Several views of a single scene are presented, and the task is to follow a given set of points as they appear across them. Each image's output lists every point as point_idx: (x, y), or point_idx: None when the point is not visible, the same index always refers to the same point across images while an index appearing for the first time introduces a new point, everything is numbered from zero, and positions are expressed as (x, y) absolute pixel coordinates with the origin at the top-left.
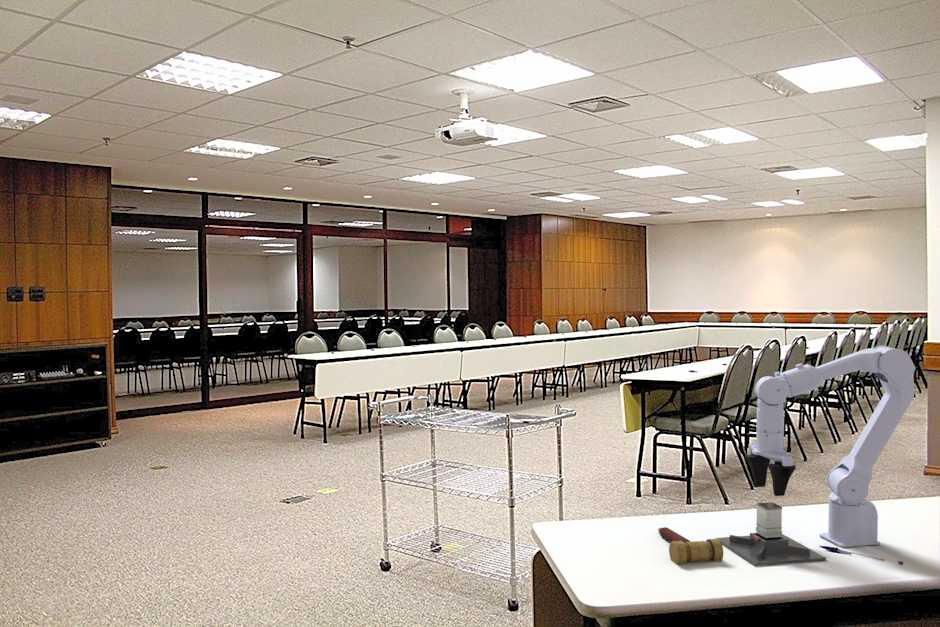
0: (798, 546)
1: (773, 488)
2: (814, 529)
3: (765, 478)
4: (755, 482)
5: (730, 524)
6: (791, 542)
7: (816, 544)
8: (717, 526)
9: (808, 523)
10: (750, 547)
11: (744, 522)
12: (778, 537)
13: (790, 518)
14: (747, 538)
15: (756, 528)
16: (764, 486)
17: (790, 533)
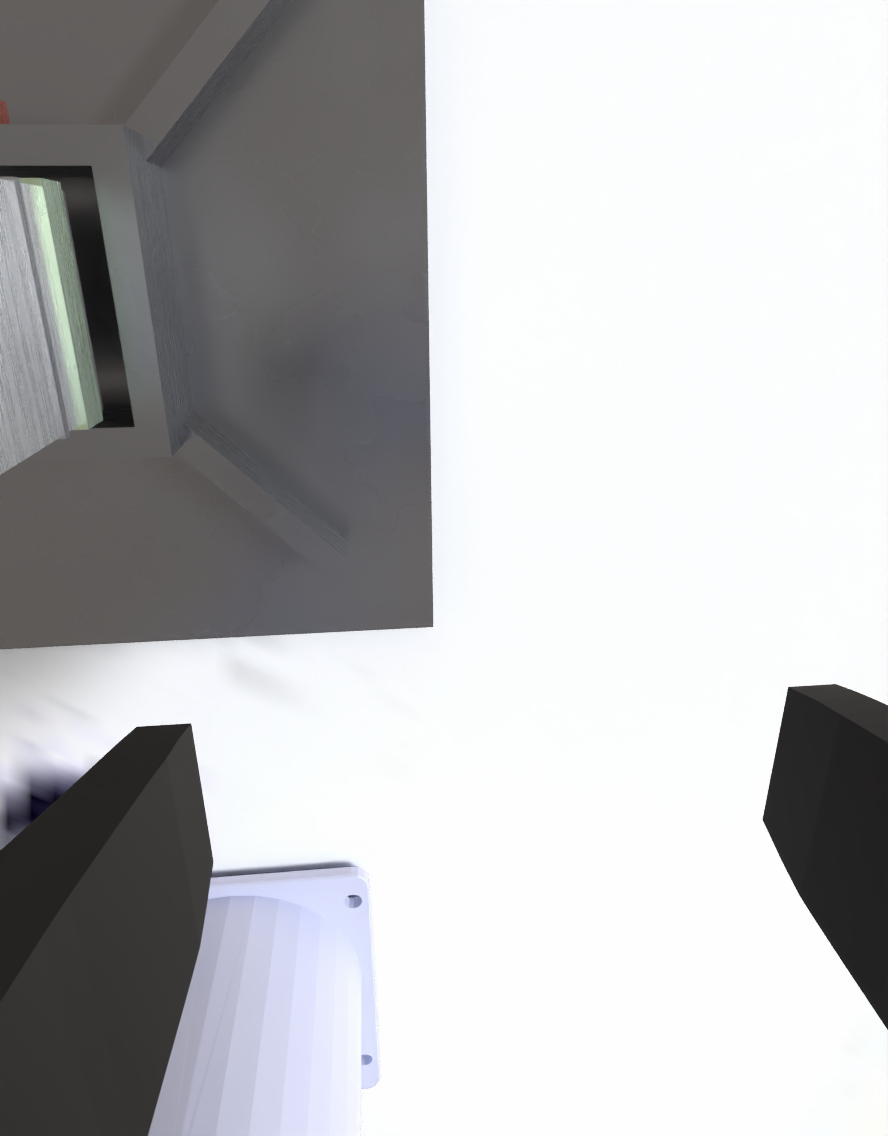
0: (64, 590)
1: (122, 791)
2: (521, 900)
3: (845, 948)
4: (856, 716)
5: (847, 340)
6: (179, 587)
7: None
8: (847, 163)
9: (649, 921)
10: (41, 82)
11: (843, 500)
12: None
13: None
14: (149, 107)
15: (36, 181)
16: (765, 815)
17: (477, 714)
